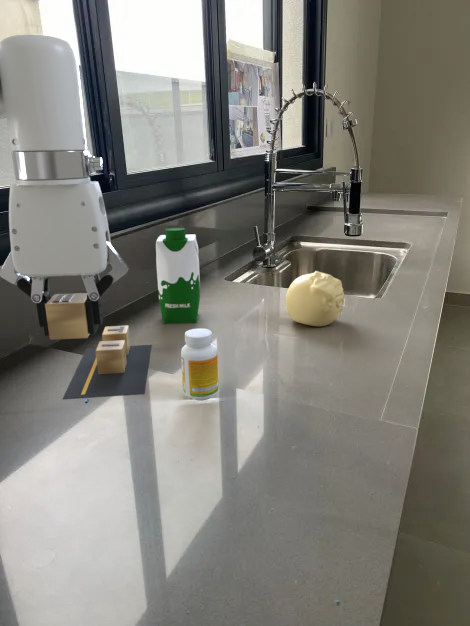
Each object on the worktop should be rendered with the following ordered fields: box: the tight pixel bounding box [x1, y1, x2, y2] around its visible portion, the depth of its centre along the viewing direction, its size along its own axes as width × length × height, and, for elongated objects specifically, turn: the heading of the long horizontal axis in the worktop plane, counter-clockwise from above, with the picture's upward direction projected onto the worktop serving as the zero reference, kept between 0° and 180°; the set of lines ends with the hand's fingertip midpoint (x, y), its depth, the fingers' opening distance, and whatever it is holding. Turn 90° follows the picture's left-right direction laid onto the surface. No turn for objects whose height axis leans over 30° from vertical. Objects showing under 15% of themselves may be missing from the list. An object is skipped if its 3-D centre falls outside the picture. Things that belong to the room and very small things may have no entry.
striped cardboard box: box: [45, 292, 91, 340], centre depth 58 cm, size 4×4×4 cm
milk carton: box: [155, 227, 201, 325], centre depth 105 cm, size 9×9×20 cm
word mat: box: [62, 344, 153, 400], centre depth 83 cm, size 12×20×1 cm, turn 6°
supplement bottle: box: [180, 327, 220, 401], centre depth 74 cm, size 5×5×10 cm
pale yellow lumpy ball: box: [285, 270, 345, 327], centre depth 103 cm, size 12×12×11 cm
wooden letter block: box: [96, 340, 127, 374], centre depth 83 cm, size 4×4×4 cm
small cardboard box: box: [101, 325, 131, 355], centre depth 90 cm, size 4×4×4 cm
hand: (72, 329), depth 58 cm, fingers closed on striped cardboard box, 4 cm apart
